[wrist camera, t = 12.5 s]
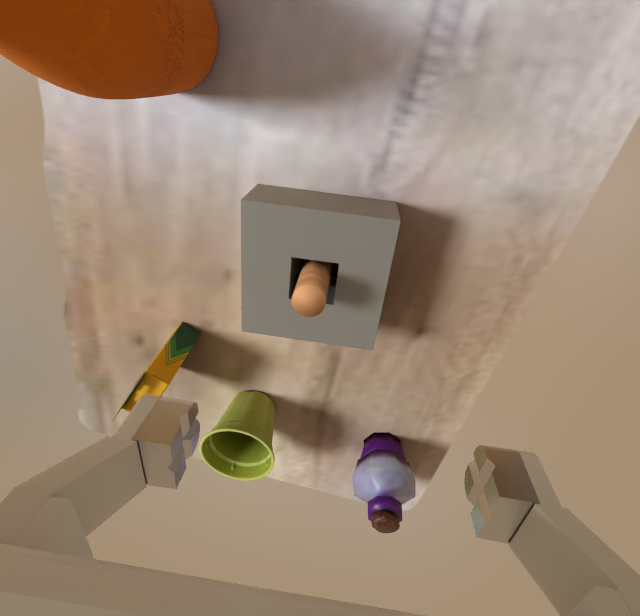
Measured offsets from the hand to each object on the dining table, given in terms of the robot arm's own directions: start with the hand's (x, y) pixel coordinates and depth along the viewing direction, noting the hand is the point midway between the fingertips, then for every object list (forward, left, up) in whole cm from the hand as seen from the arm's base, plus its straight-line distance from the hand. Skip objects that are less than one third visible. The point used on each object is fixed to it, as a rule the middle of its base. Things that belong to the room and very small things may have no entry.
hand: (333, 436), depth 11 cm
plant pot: (+32, -10, -31) cm, 46 cm away
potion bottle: (+36, +9, -31) cm, 49 cm away
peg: (+8, -3, -31) cm, 32 cm away
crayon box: (+23, -20, -31) cm, 44 cm away
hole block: (+8, -3, -31) cm, 32 cm away
